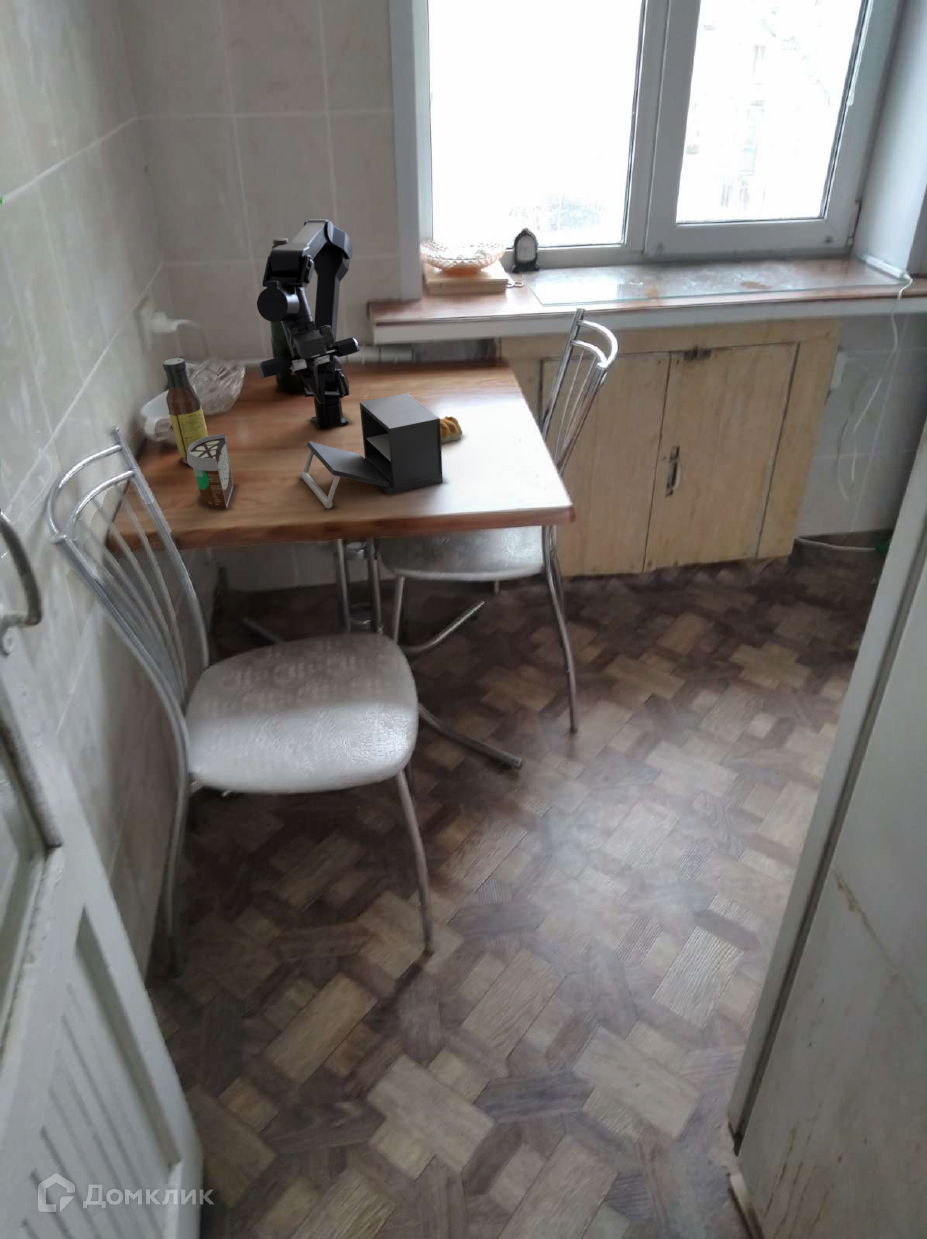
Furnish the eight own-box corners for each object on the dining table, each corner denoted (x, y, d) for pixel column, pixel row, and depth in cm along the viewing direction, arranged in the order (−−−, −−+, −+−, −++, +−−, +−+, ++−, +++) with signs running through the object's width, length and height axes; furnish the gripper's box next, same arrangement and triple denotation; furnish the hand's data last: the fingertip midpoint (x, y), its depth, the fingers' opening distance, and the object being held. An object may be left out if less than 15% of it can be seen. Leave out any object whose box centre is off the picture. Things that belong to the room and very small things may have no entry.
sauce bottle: (219, 455, 181) (200, 357, 170) (201, 468, 176) (181, 367, 165) (191, 452, 183) (170, 354, 172) (173, 464, 178) (151, 364, 167)
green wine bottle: (270, 393, 211) (247, 243, 193) (287, 378, 219) (267, 233, 201) (312, 395, 209) (293, 243, 191) (328, 380, 217) (311, 233, 199)
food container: (201, 484, 170) (191, 434, 165) (234, 482, 170) (225, 432, 165) (190, 514, 160) (179, 461, 154) (225, 512, 160) (215, 459, 155)
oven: (388, 495, 164) (383, 429, 157) (359, 465, 176) (353, 403, 169) (442, 482, 168) (440, 418, 161) (411, 454, 179) (407, 393, 172)
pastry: (428, 449, 181) (427, 431, 179) (408, 440, 185) (407, 422, 183) (465, 437, 186) (464, 419, 184) (445, 428, 190) (444, 411, 188)
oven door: (376, 518, 166) (321, 507, 160) (348, 487, 177) (296, 476, 171) (389, 482, 163) (334, 470, 157) (360, 454, 174) (307, 441, 168)
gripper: (252, 328, 159) (280, 416, 163) (352, 302, 163) (377, 388, 168) (246, 334, 169) (273, 417, 174) (341, 310, 174) (364, 391, 178)
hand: (322, 403), depth 173 cm, fingers closed
